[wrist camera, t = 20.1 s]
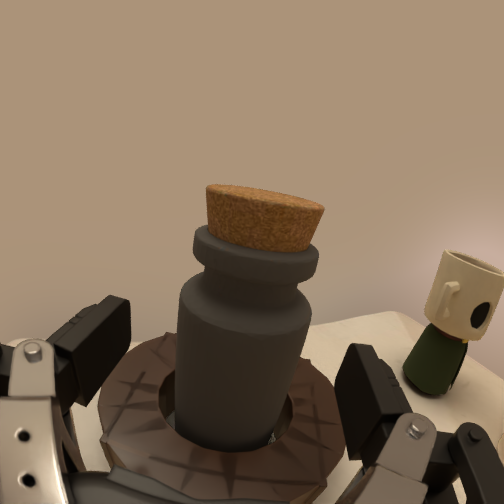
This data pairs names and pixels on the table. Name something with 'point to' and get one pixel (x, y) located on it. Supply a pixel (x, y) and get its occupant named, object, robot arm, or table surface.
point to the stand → (210, 461)
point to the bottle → (243, 316)
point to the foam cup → (501, 449)
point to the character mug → (453, 319)
